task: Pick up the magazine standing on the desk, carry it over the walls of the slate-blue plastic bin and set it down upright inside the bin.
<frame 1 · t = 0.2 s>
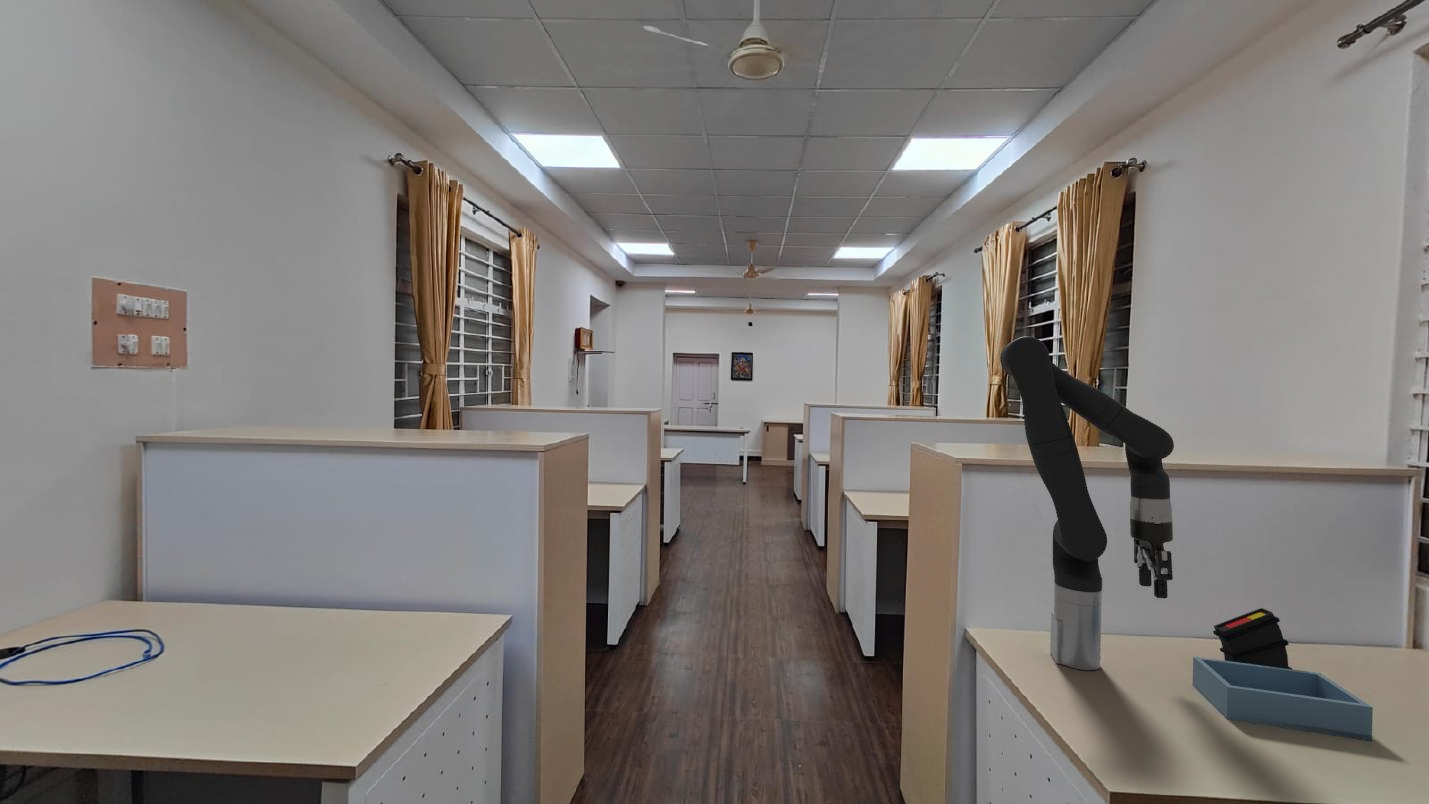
hand: (1152, 591, 130), 18 cm above the table, tool pointing down, fingers open, 8 cm apart
bin: (1274, 710, 114), on the table
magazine: (1250, 680, 128), on the table
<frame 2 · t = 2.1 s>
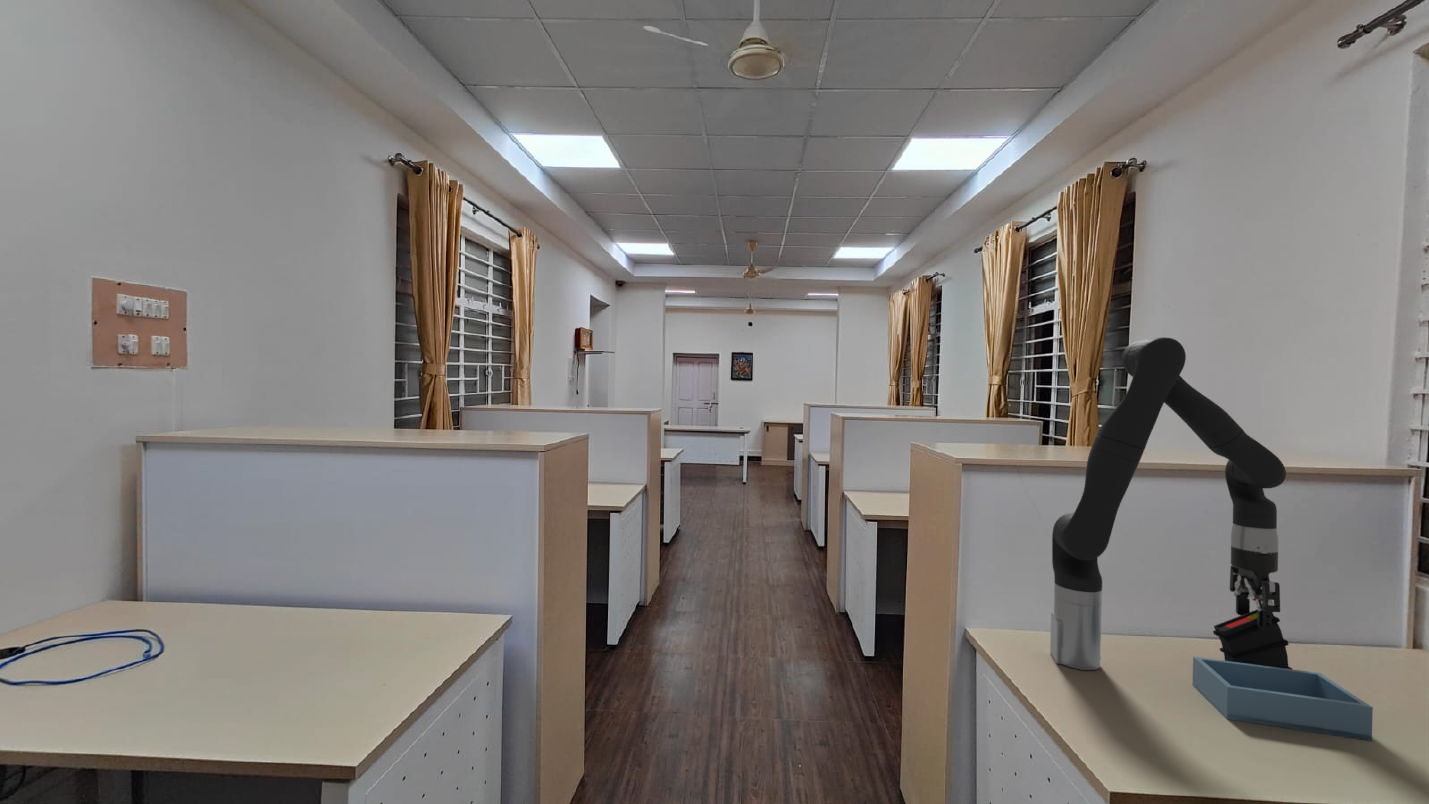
hand: (1253, 621, 128), 12 cm above the table, tool pointing down, fingers open, 8 cm apart
nothing on the table moved.
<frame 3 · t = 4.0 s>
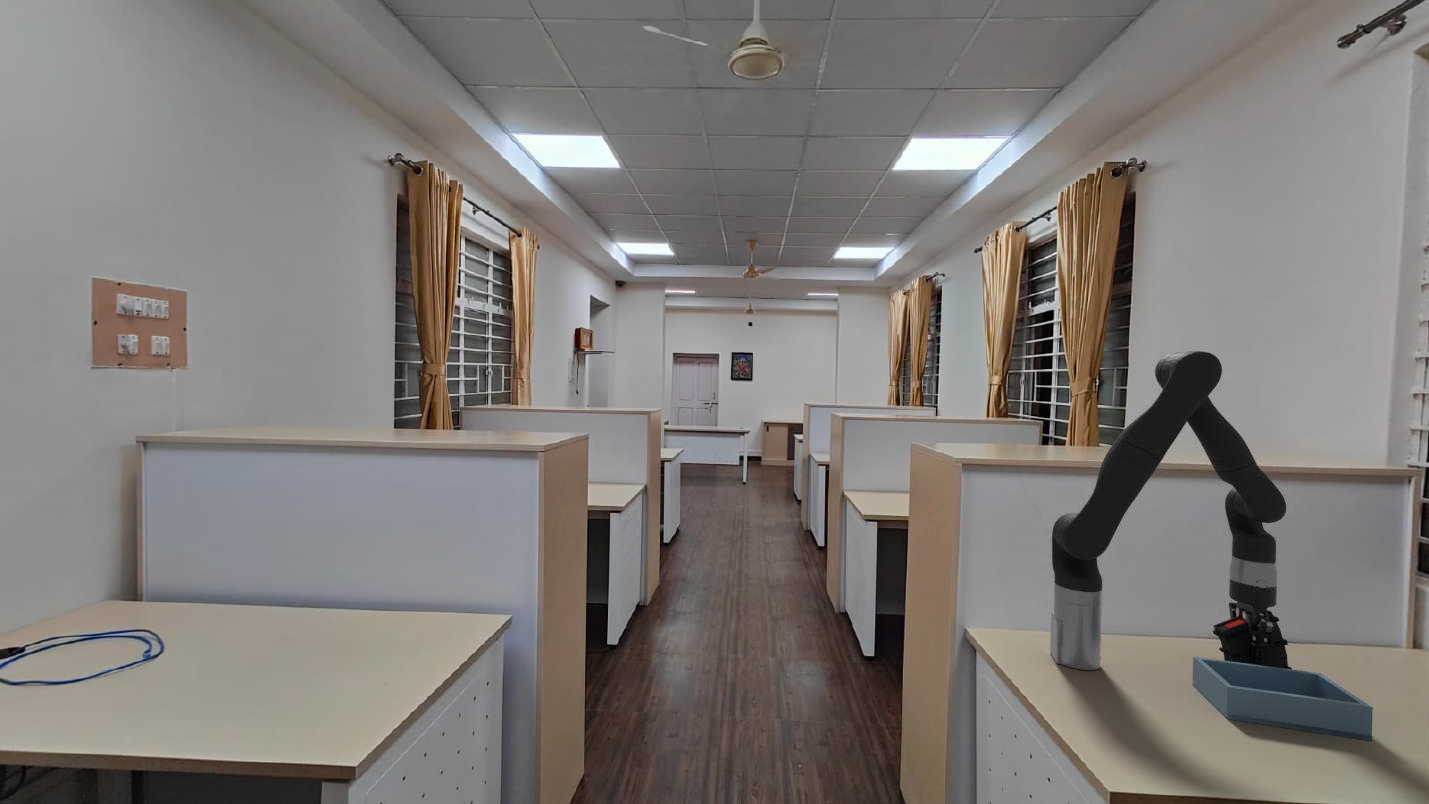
hand: (1250, 658, 128), 4 cm above the table, tool pointing down, fingers closed on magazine, 4 cm apart
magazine: (1250, 679, 128), on the table, touching gripper
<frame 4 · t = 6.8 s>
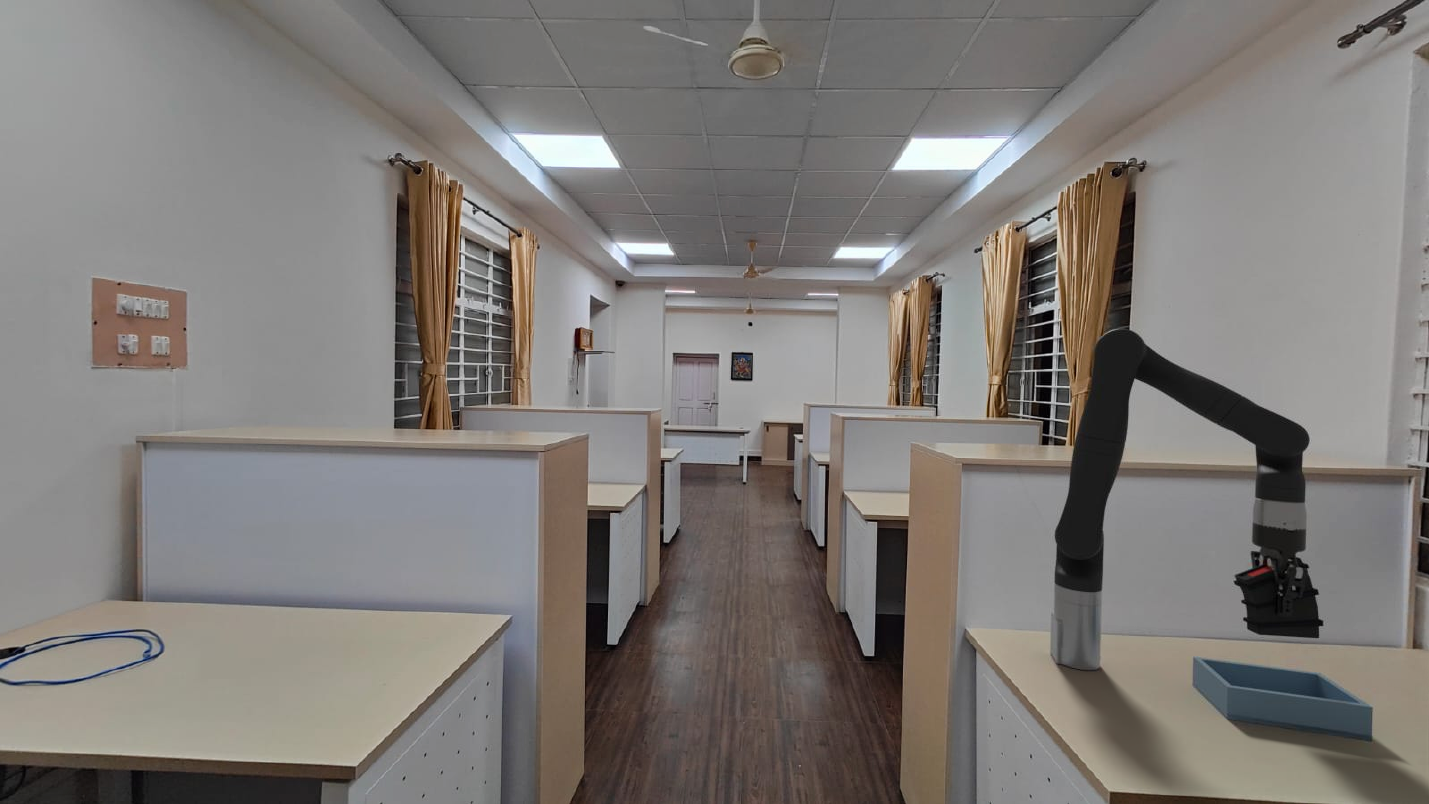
hand: (1276, 611, 114), 19 cm above the table, tool pointing down, fingers closed on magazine, 4 cm apart
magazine: (1275, 634, 114), point 15 cm above the table, touching gripper
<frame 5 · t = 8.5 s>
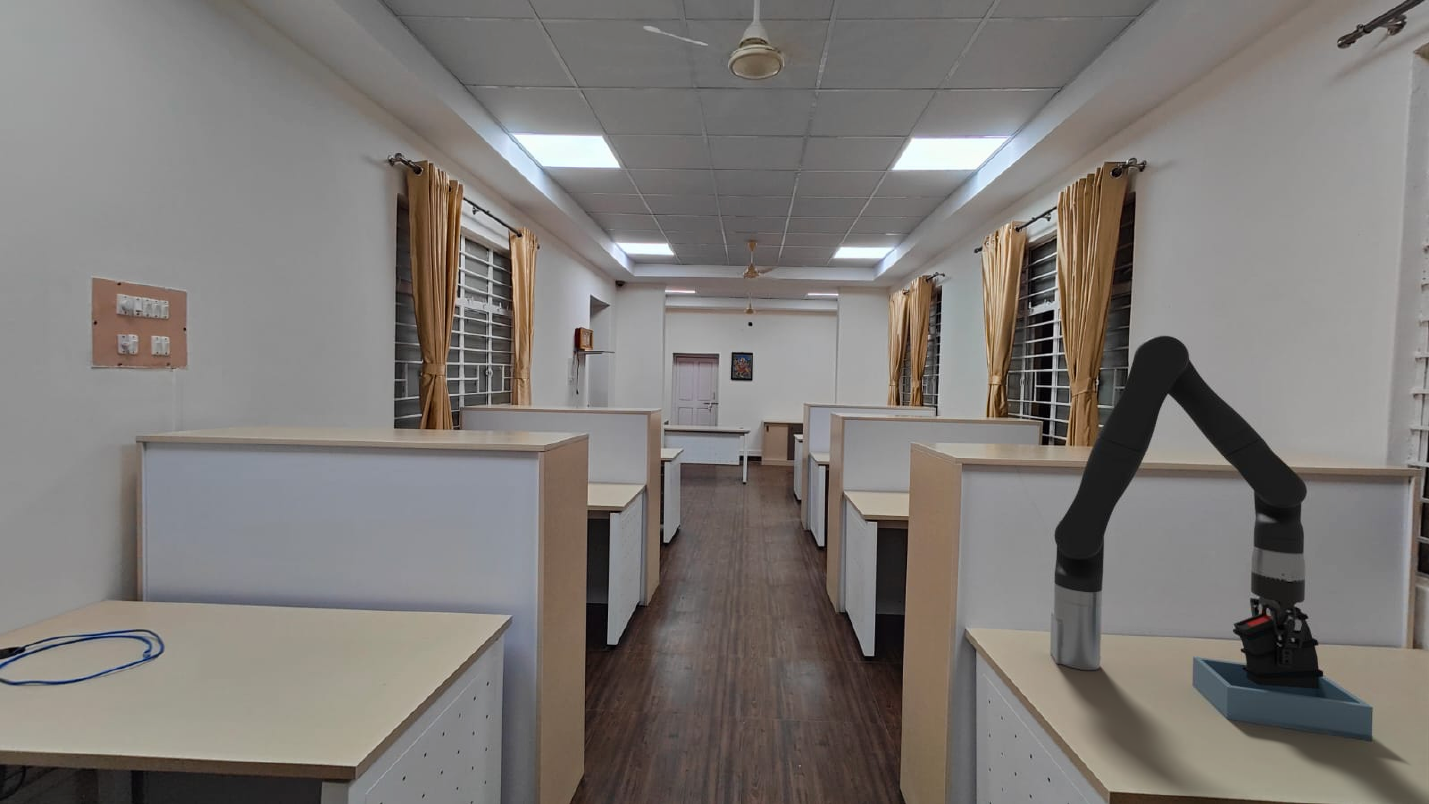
hand: (1275, 661, 114), 10 cm above the table, tool pointing down, fingers closed on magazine, 4 cm apart
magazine: (1275, 684, 114), point 5 cm above the table, touching gripper
when the fingers open (7 cm above the table, at t = 9.8 s): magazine drops 2 cm, resting on bin.
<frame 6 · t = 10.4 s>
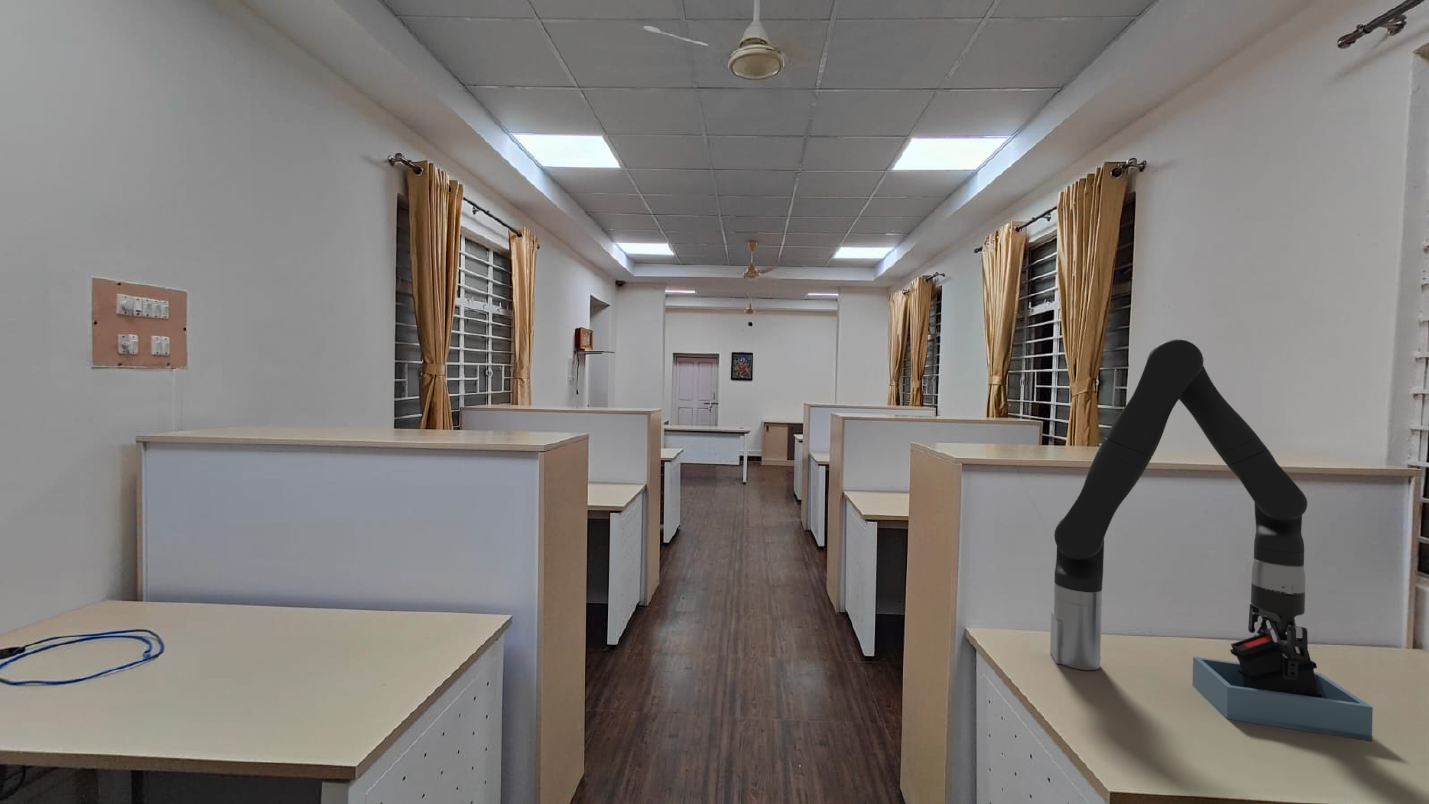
hand: (1275, 668, 114), 8 cm above the table, tool pointing down, fingers open, 8 cm apart
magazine: (1272, 705, 115), point 1 cm above the table, touching bin
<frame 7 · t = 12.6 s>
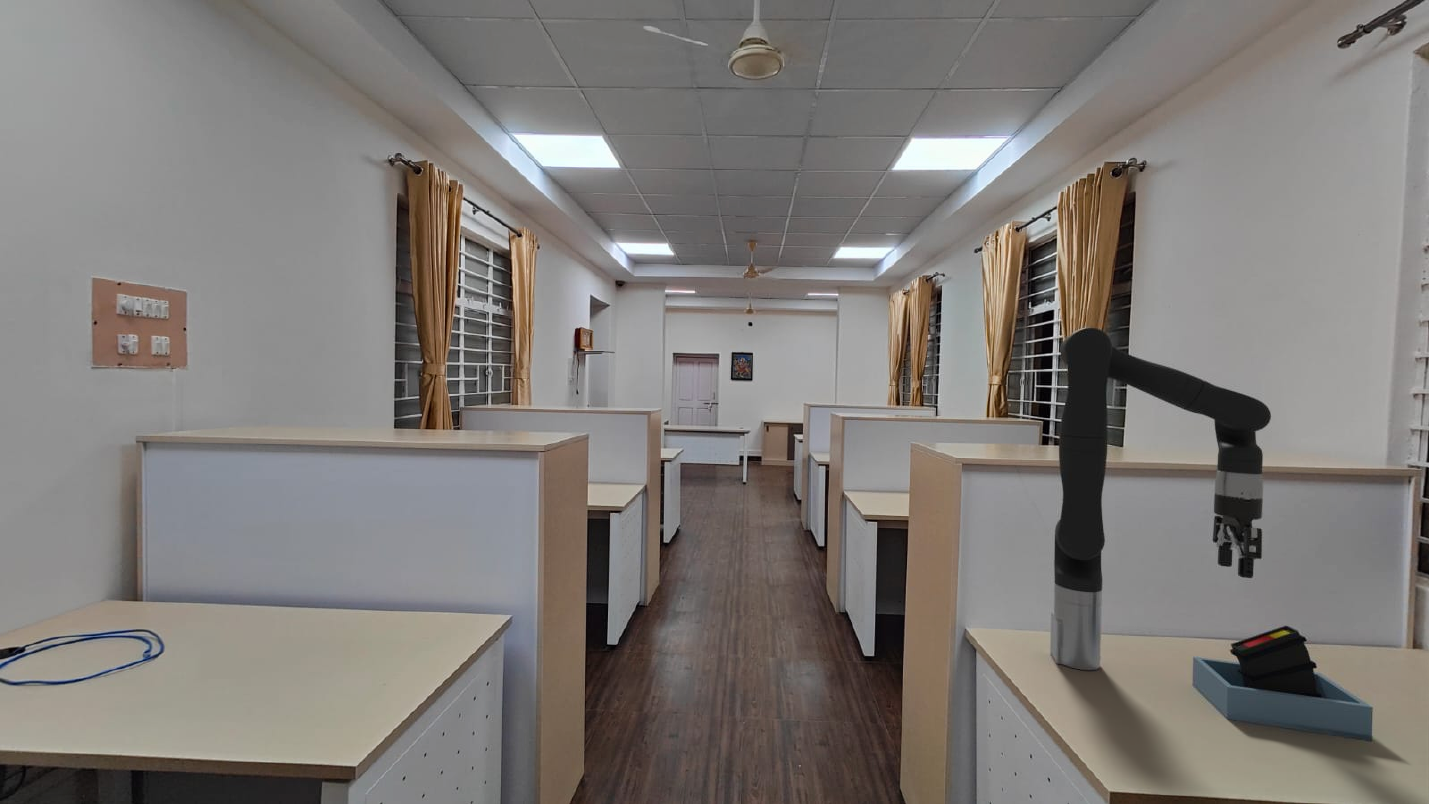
hand: (1234, 571, 123), 24 cm above the table, tool pointing down, fingers open, 8 cm apart
nothing on the table moved.
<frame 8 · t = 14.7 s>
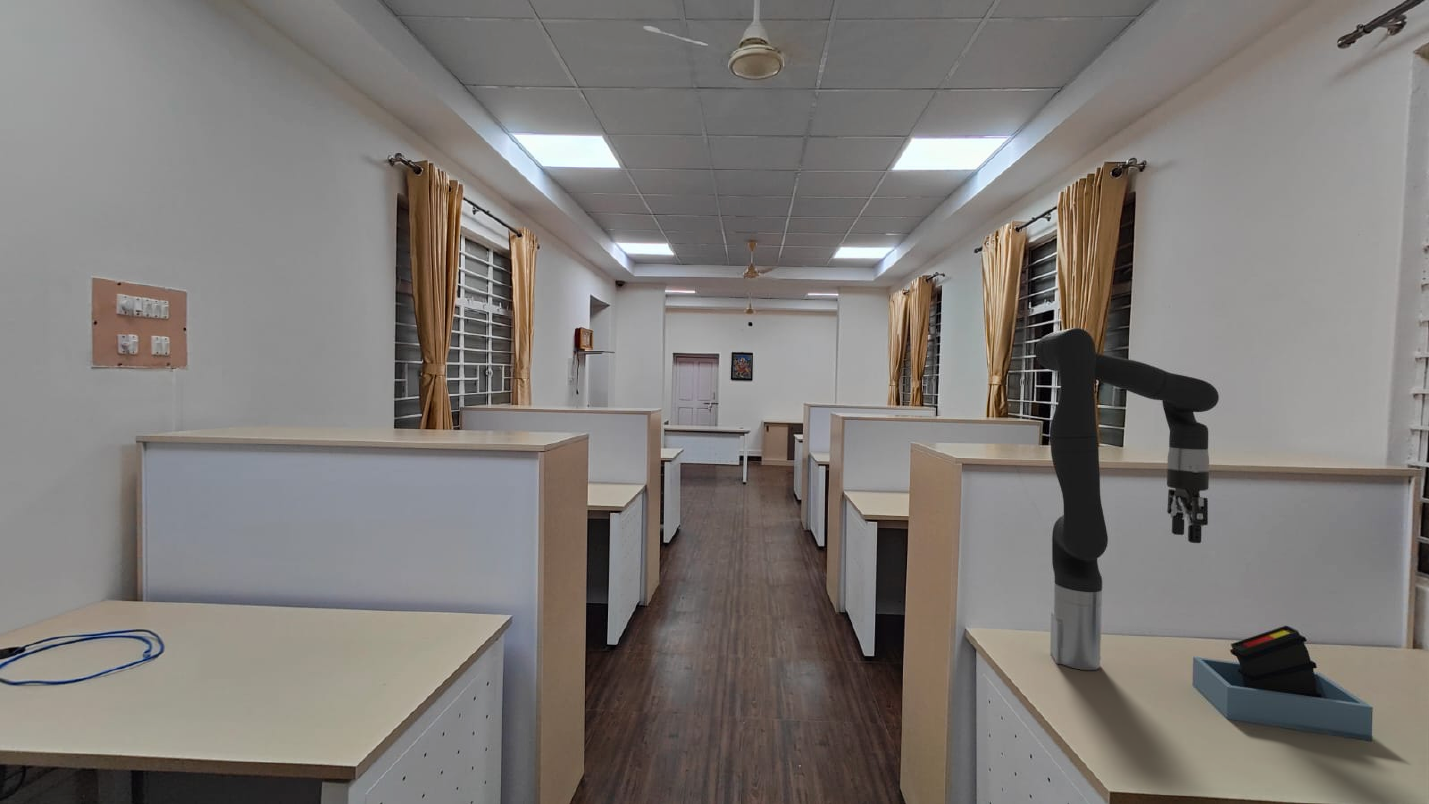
hand: (1185, 538, 136), 28 cm above the table, tool pointing down, fingers open, 8 cm apart
nothing on the table moved.
at the end: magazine inside the target area on the bin (0.4 cm from its centre), point 0.8 cm above the bin's base; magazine tilted 2°; the gripper is holding nothing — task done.
